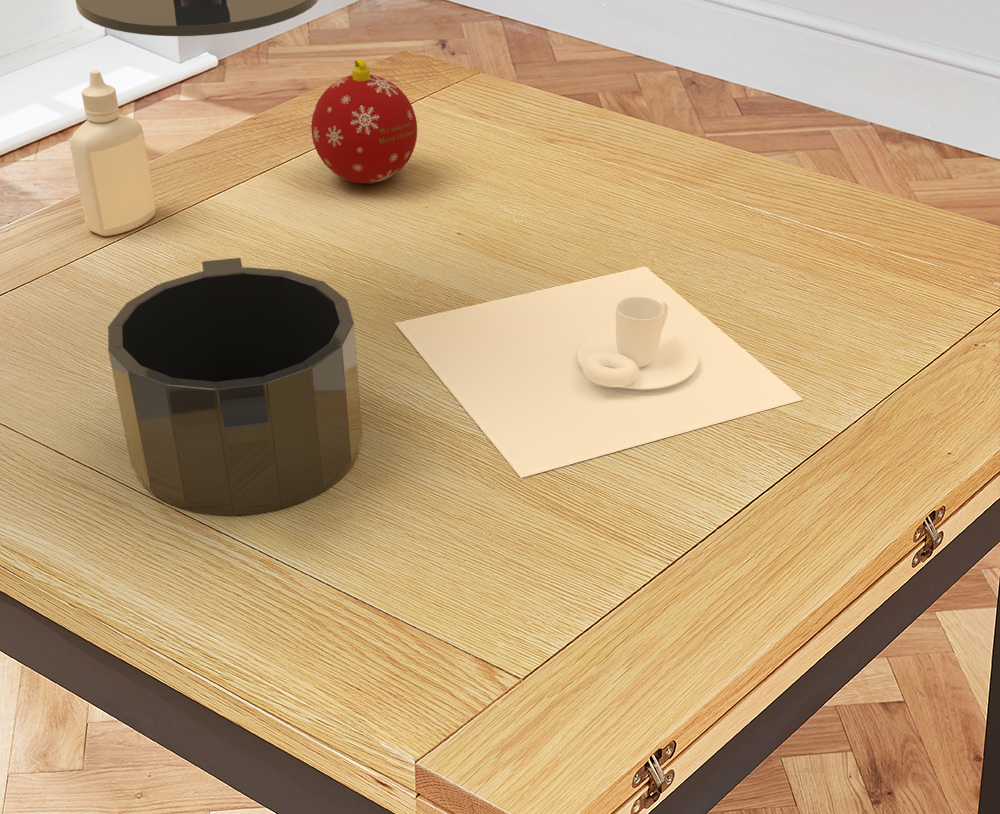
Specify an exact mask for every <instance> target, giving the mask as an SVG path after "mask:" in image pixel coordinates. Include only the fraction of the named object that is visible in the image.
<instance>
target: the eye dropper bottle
mask: <svg viewBox="0 0 1000 814" xmlns="http://www.w3.org/2000/svg"><path fill="white" fill-rule="evenodd" d="M81 98H82V102H83V107H84V113H85V118H86V119H87V120H86V121H85V122H83V123H82V124H81V125H79V126H78V127H77V129H76V130H75V131H74V133H73V134H72V136H71V137H70V142H69V143H70V144H69V145H70V151H71V158H72V163H73V167H74V172H75V178H76V179H75V180H76V183H77V189H78V193H79V199H80V203H81V209H82V212H83V218H84V224H85V227H86V229H87V230H89V231H90V232H92V233H95V234H97V235H99V236H102V237H111V236H115V235H119V234H124V233H126V232H130V231H132V230H135V229H137V228H139V227H141V226H143V225H145V224H146V223H148V222H149V221H150V220H151V219H153V218H154V217H155V215H156V213H157V204H156V199H155V193H154V187H153V180H152V175H151V174H152V173H151V170H150V162H149V157H148V152H147V146H146V140H145V135H144V130H143V127H142V125H141V123H140V122H139V121H138V120H136V119H135V118H133V117H131V116H127V115H124V114H120V109H119V103H118V97H117V91H116V88H115V87H113V86H112V85H109V84H106V82H105V81H104V79H103V76H102V73H101V71H100V70H98V69H94V70H90V72H89V85H88V86H87V87H85V88H83V90H82V91H81Z"/></svg>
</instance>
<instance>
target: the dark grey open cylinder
mask: <svg viewBox="0 0 1000 814" xmlns="http://www.w3.org/2000/svg"><path fill="white" fill-rule="evenodd" d="M201 266H202V271H198V272H194V273H191V274H188V275H184V276H181V277H178V278H174V279H170V280H167V281H165V282H161V283H159V284H157V285H155V286H153V287H151V288H150V289H148V290H146V291H144V292H142V293H141V294H139V295H137V296H136V297H134V298H132V299H131V300H129V301H127V302H126V303H125V304H124V305H123V307H122V308H121V309H120V310H119V312H118V313H117V314H116V315H115V316H114V318H113V319H112V321H111V322H110V323H109V324H108V326H107V351H108V356H109V361H110V365H111V370H112V375H113V382H114V387H115V392H116V396H117V400H118V406H119V409H120V410H119V411H120V417H121V421H122V426H123V431H124V437H125V441H126V445H127V450H128V456H129V461H130V465H131V468H132V469H133V470H134V471H133V472H134V473H135V476H136V478H137V479H138V481H139V482H140V484H141V485H142V486H143V487H144V489H146V490H147V491H148V492H149V493H150V494H151V495H153V496H154V497H156V498H157V499H159V500H160V501H162V502H164V503H166V504H169V505H171V506H174V507H175V508H179V509H182V510H186V511H189V512H194V513H198V514H206V515H213V516H247V515H256V514H263V513H270V512H274V511H278V510H282V509H285V508H290V507H293V506H295V505H298V504H301V503H304V502H306V501H309V500H310V499H312V498H314V497H317V496H319V495H320V494H322V493H323V492H325V491H327V490H328V489H330V488H331V487H332V486H334V485H335V484H337V483H338V482H339V481H340V480H341V479H342V478H344V476H345V475H347V473H348V472H349V471H350V470H351V468H352V467H353V466H354V464H355V462H356V460H357V459H358V455H359V453H360V450H361V442H362V438H363V429H362V415H361V400H360V385H359V374H358V360H357V359H358V358H357V345H356V334H355V333H356V332H355V321H354V318H353V315H352V312H351V308H350V304H349V301H348V299H347V298H346V297H345V296H344V295H342V294H341V293H339V292H338V291H337V290H335V289H334V288H333V287H332V286H331V285H329V284H328V283H327V282H325V281H323V280H319V279H317V278H313V277H310V276H307V275H304V274H301V273H299V272H298V273H297V272H294V271H292V270H285V269H274V268H262V267H251V266H250V267H249V266H243V263H242V258H241V257H233V258H223V259H214V260H203V261H202V262H201Z"/></svg>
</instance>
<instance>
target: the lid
mask: <svg viewBox="0 0 1000 814" xmlns="http://www.w3.org/2000/svg"><path fill="white" fill-rule="evenodd" d="M318 2H319V0H75V6H76V10H77V11H78V13H79V14H80V15H81V16H82V17H83V18H84V19H85V20H86V21H89V22H91V23H93V24H95V25H98V26H100V27H103V28H105V29H109V30H113V31H117V32H123V33H128V34H136V35H144V36H155V37H156V36H157V37H199V36H201V37H203V36H215V35H216V36H217V35H224V34H225V35H226V34H232V33H239V32H244V31H251V30H256V29H261V28H265V27H268V26H269V27H270V26H273V25H275V24H280V23H282V22H285V21H288V20H290V19H293V18H295V17H298V16H300V15H302V14H304V13H305V12H307V11H309V10H310V9H312V8H313V7H314V6H316V4H317V3H318Z"/></svg>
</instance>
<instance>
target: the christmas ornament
mask: <svg viewBox="0 0 1000 814" xmlns="http://www.w3.org/2000/svg"><path fill="white" fill-rule="evenodd" d="M367 65H368V64H367V63H366V61H365V59H363V58H357V59H355V60H354V67H352V70H351V71H352V74H351V75H348V76H345V77H342V78H341V79H340V78H339V80H337V81H334V83H332V84H331V85H329V87H327V89H325V90H324V92H322V94H321V96H320V97H319V98H318V100H317V102H316V104H315V107H314V109H313V113H312V117H311V124H310V125H311V126H310V128H311V138H312V142H313V145H314V148H315V151H316V152H317V155H318V156H319V158H320V160H321V162H322V163H323V164H324V165H325V166H326V168H328V169H329V170H330V171H331V172H332V173H333V174H334V175H336V176H338V177H339V178H342V179H344V180H346V181H349V182H352V183H357V184H375V183H379V182H383V181H386V180H388V179H390V178H391V177H393V176H394V175H396V174H397V173H398V172H400V171H401V170H402V169H403V168H404V167H405V165H406V164H407V163H408V162H409V160H410V159H411V157H412V156H413V153H414V151H415V147H416V144H417V139H418V121H417V116H416V113H415V109H414V107H413V105H412V103H411V101H410V100H409V98H408V97H407V95H406V94H405V93H404V92H403V90H401V89H400V88H399V87H398V86H397V85H396V84H394V83H393V82H392V81H390V80H388V79H386V78H384V77H381V76H379V75H374V74H371V72H370V68H369V67H368V66H367Z"/></svg>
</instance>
